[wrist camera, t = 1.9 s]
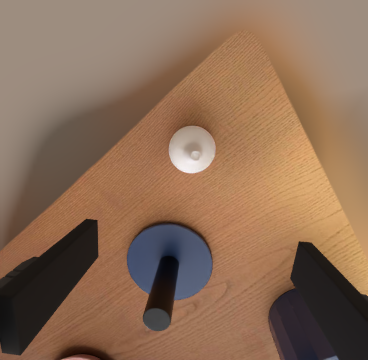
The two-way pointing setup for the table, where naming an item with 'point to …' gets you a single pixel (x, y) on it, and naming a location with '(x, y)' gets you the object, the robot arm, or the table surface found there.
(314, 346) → the pot
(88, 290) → the table surface
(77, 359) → the plate
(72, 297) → the table surface
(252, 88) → the table surface
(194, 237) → the lid
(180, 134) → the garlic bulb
